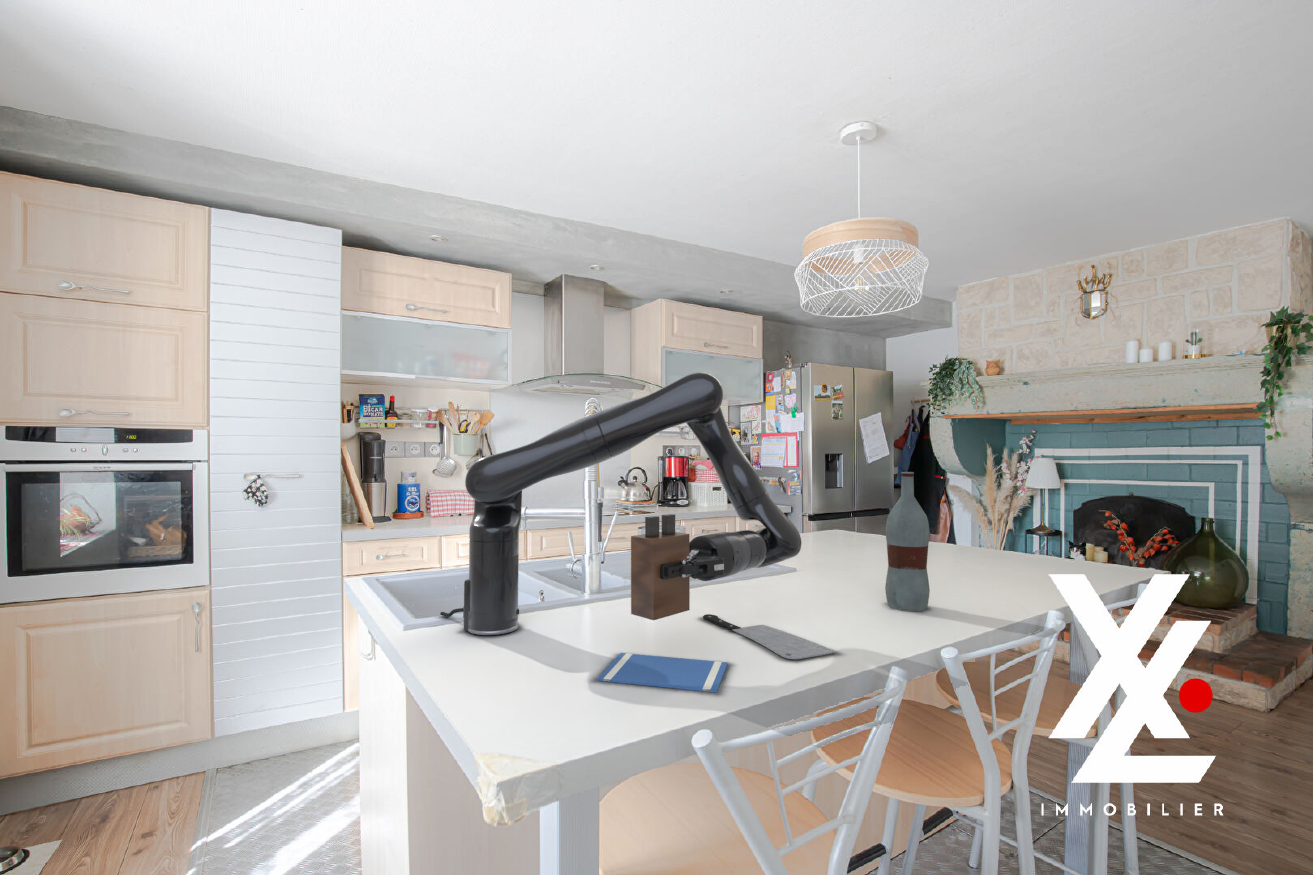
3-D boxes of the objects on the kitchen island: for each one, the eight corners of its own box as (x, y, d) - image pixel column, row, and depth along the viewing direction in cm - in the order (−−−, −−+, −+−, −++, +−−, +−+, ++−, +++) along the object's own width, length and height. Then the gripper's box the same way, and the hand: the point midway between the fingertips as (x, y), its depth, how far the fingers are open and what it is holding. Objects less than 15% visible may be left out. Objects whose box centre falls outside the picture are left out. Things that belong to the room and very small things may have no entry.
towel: (597, 680, 94) (597, 677, 94) (621, 655, 106) (621, 652, 106) (716, 692, 90) (716, 689, 90) (727, 664, 101) (727, 662, 101)
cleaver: (737, 612, 133) (697, 617, 129) (737, 610, 133) (697, 615, 129) (837, 653, 107) (791, 661, 103) (837, 650, 107) (791, 658, 103)
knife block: (630, 614, 96) (630, 516, 97) (666, 604, 102) (666, 512, 102) (653, 620, 93) (653, 519, 93) (689, 610, 99) (689, 514, 99)
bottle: (908, 600, 146) (908, 471, 146) (939, 609, 137) (939, 472, 138) (876, 603, 143) (876, 471, 143) (905, 613, 134) (906, 473, 134)
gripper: (687, 529, 113) (616, 539, 101) (753, 537, 103) (683, 550, 91) (687, 571, 113) (616, 586, 101) (753, 583, 103) (683, 602, 91)
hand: (648, 569), depth 96 cm, fingers closed on knife block, 5 cm apart
